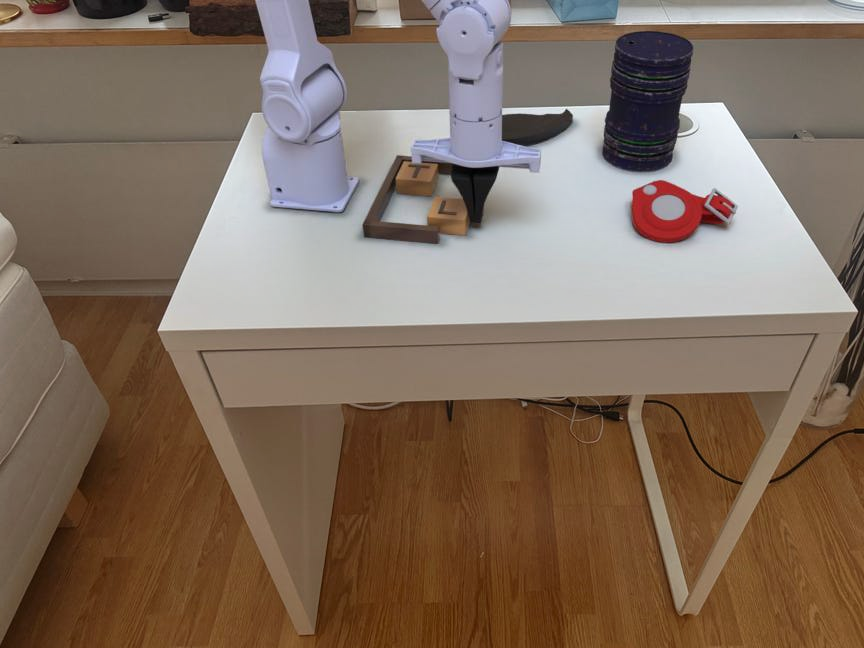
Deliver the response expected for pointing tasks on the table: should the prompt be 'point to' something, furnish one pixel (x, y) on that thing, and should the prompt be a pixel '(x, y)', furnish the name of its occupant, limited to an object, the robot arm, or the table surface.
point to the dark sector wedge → (533, 127)
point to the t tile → (417, 179)
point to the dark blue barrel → (646, 99)
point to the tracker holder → (676, 211)
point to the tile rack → (399, 230)
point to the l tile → (449, 216)
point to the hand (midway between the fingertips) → (476, 218)
